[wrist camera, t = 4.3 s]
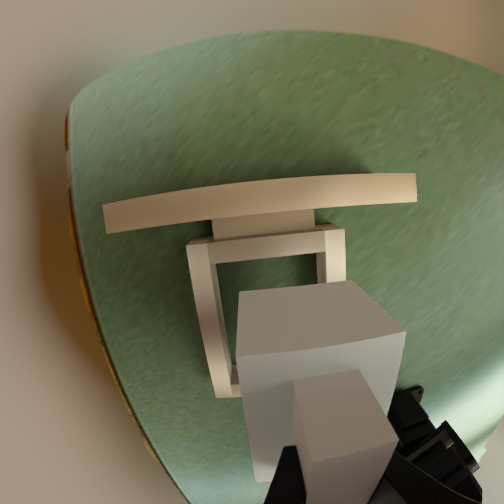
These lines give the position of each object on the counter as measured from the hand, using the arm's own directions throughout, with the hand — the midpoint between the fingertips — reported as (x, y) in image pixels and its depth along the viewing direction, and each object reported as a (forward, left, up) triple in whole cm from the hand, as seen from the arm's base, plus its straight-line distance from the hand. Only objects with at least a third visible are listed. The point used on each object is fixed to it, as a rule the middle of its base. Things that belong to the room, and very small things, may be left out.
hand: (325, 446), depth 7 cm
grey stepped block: (0, 0, -6) cm, 6 cm away
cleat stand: (+1, +1, -12) cm, 12 cm away
